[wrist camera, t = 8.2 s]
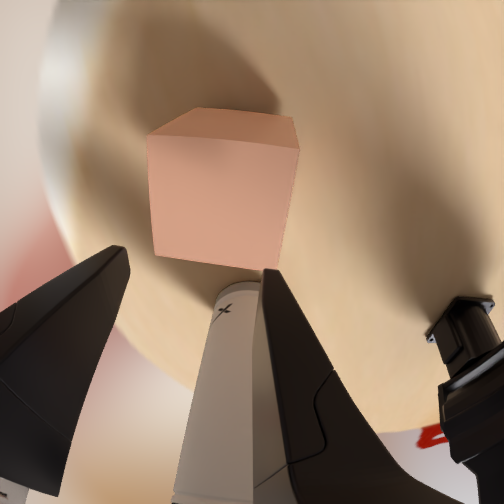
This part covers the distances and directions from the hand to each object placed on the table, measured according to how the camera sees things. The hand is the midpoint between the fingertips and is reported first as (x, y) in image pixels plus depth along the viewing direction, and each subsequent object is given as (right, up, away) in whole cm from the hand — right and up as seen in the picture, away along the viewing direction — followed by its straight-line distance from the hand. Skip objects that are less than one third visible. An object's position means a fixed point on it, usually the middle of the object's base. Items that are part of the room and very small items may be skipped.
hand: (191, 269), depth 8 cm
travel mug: (+2, -4, +17) cm, 17 cm away
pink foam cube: (+1, +6, +8) cm, 10 cm away
